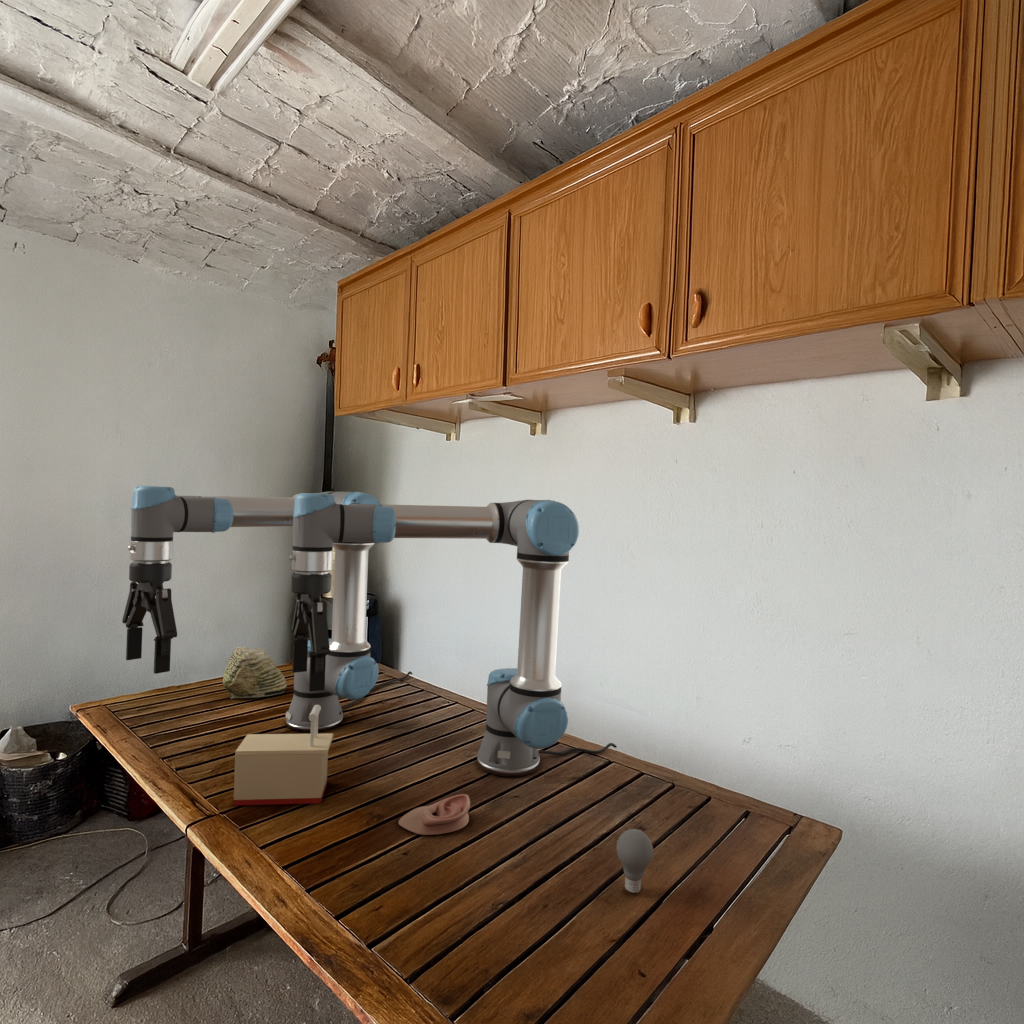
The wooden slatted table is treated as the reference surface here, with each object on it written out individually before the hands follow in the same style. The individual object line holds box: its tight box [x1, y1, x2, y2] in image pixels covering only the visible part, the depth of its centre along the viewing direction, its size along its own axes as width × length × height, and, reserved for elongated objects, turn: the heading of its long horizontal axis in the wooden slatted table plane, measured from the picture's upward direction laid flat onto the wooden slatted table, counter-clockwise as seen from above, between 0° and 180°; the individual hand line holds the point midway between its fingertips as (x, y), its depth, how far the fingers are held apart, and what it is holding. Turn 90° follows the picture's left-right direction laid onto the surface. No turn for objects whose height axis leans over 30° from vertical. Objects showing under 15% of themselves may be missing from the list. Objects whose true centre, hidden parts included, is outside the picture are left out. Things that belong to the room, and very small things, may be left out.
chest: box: [232, 752, 329, 806], centre depth 134 cm, size 17×9×10 cm, turn 99°
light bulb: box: [615, 828, 654, 894], centre depth 106 cm, size 6×6×10 cm
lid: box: [234, 705, 334, 755], centre depth 134 cm, size 18×9×8 cm, turn 99°
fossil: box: [222, 646, 288, 699], centre depth 198 cm, size 9×18×15 cm, turn 132°
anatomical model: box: [397, 793, 471, 836], centre depth 125 cm, size 13×4×12 cm
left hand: (147, 665), depth 129 cm, fingers open, 13 cm apart
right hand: (307, 680), depth 124 cm, fingers open, 13 cm apart
